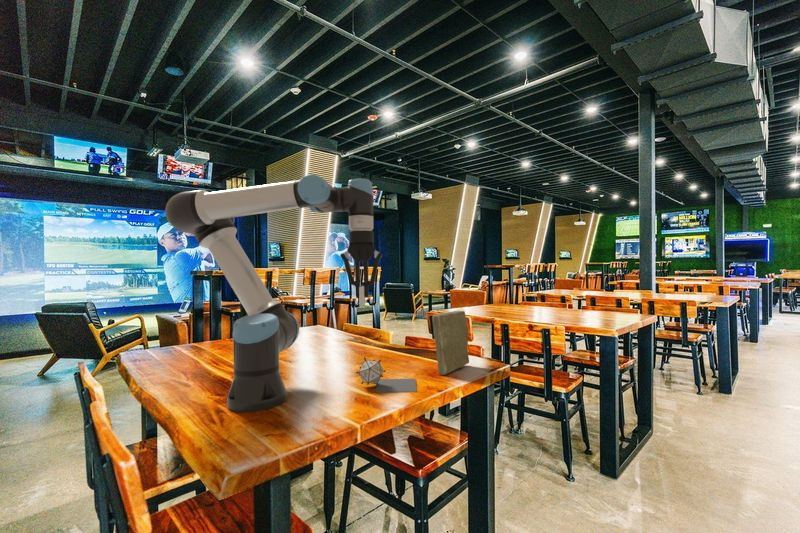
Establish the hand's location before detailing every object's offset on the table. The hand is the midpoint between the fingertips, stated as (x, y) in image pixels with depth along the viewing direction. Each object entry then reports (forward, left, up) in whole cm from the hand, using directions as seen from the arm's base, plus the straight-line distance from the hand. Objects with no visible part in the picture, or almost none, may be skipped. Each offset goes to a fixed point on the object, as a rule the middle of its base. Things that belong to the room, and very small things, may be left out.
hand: (362, 307), depth 112 cm
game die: (-1, 0, -24) cm, 24 cm away
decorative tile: (+30, +18, -25) cm, 43 cm away
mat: (+10, 0, -24) cm, 26 cm away
